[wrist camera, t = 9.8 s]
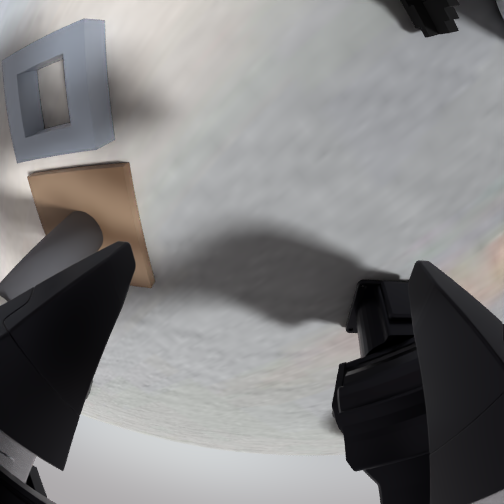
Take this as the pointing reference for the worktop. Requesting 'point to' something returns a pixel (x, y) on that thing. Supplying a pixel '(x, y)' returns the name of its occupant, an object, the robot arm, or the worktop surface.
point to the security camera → (432, 15)
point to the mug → (501, 6)
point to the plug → (54, 254)
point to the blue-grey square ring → (77, 88)
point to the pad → (95, 206)
